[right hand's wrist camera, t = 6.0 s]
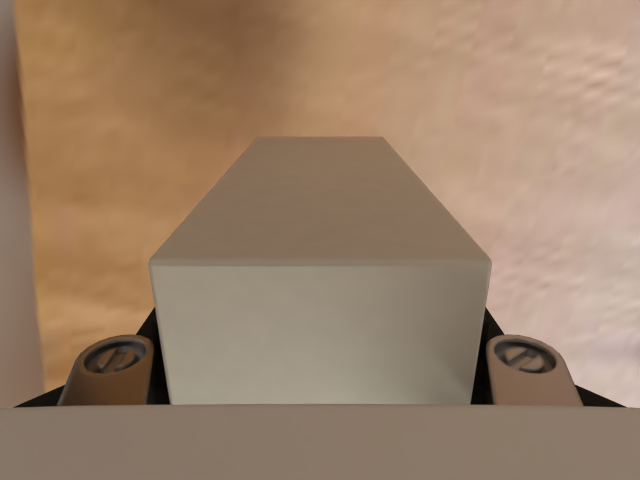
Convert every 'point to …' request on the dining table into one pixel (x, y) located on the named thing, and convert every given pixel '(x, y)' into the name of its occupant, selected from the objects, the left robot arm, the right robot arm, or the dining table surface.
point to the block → (320, 283)
